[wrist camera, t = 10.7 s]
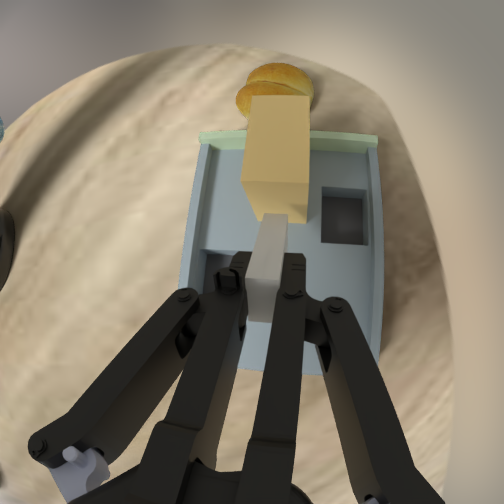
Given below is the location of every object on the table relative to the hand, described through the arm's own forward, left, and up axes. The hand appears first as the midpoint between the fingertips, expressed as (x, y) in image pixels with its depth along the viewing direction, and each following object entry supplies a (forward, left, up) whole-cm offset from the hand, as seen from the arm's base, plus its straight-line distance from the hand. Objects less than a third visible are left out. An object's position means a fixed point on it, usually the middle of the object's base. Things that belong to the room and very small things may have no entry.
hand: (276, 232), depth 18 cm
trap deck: (0, 0, -7) cm, 7 cm away
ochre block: (+4, +4, -5) cm, 8 cm away
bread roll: (+13, +13, -8) cm, 20 cm away
